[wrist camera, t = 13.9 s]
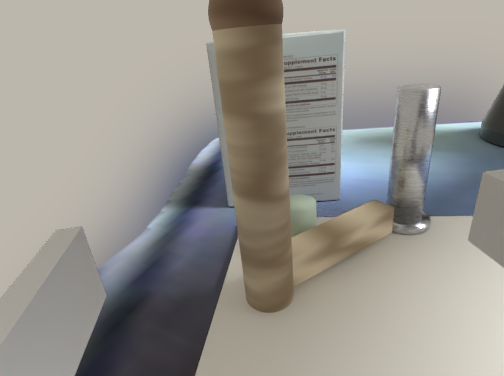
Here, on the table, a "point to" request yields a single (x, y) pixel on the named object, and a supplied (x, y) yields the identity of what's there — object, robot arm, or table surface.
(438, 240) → the board
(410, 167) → the hinge post
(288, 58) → the supplement box
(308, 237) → the gate
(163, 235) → the table surface
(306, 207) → the post
